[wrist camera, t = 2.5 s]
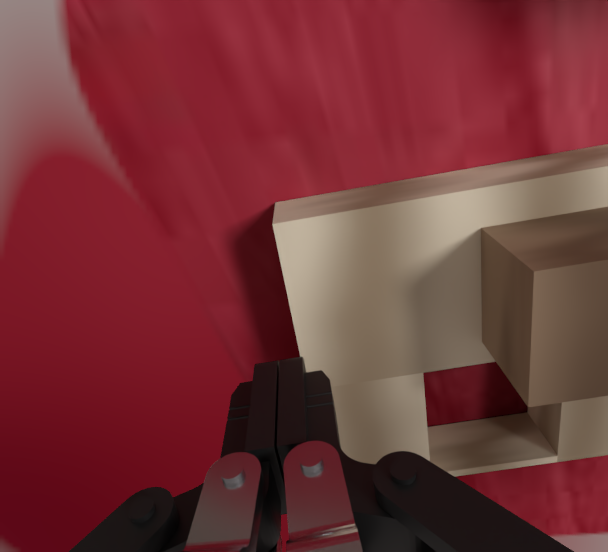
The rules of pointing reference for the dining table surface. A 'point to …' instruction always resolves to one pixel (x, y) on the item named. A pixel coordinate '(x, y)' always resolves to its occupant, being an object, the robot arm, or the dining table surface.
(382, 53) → the dining table surface
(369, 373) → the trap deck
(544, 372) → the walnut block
